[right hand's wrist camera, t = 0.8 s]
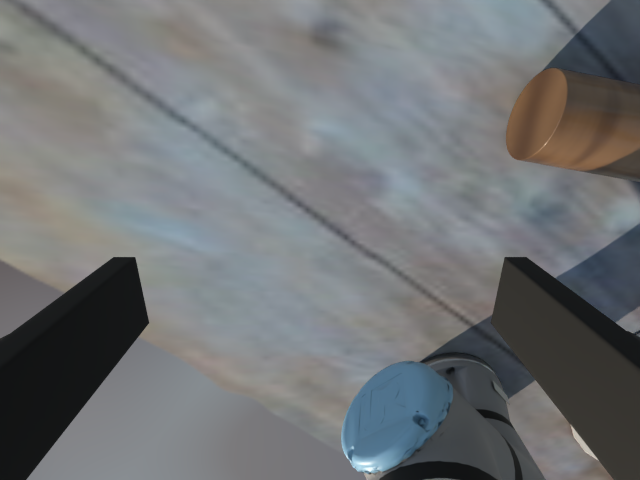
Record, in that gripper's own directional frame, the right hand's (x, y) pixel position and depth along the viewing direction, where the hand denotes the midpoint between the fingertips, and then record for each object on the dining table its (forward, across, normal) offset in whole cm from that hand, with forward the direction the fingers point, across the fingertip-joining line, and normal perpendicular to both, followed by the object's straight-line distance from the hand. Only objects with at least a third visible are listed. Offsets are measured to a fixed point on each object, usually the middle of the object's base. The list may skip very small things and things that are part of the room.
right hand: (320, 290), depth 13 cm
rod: (+31, +35, +3) cm, 47 cm away
